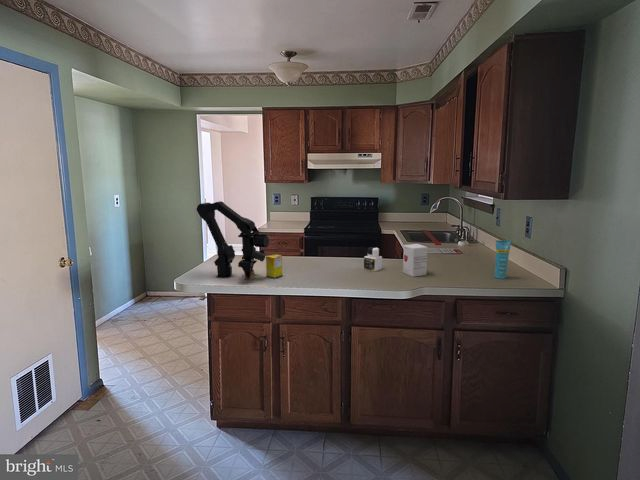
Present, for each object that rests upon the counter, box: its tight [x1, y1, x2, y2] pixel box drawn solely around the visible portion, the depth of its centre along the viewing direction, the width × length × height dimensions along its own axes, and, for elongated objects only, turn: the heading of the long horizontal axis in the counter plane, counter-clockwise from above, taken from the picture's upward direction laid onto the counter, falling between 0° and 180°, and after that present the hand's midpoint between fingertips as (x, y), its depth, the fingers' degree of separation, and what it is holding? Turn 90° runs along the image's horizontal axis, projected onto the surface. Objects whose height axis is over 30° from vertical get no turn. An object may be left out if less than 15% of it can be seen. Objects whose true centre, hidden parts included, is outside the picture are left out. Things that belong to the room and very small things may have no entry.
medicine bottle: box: [363, 246, 383, 272], centre depth 222 cm, size 7×7×12 cm
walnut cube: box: [243, 269, 255, 281], centre depth 206 cm, size 4×4×4 cm
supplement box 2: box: [402, 243, 429, 278], centre depth 213 cm, size 9×9×15 cm
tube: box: [494, 239, 512, 280], centre depth 205 cm, size 7×5×19 cm, turn 92°
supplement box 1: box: [265, 253, 283, 279], centre depth 209 cm, size 6×6×11 cm
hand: (249, 276), depth 206 cm, fingers closed on walnut cube, 4 cm apart
